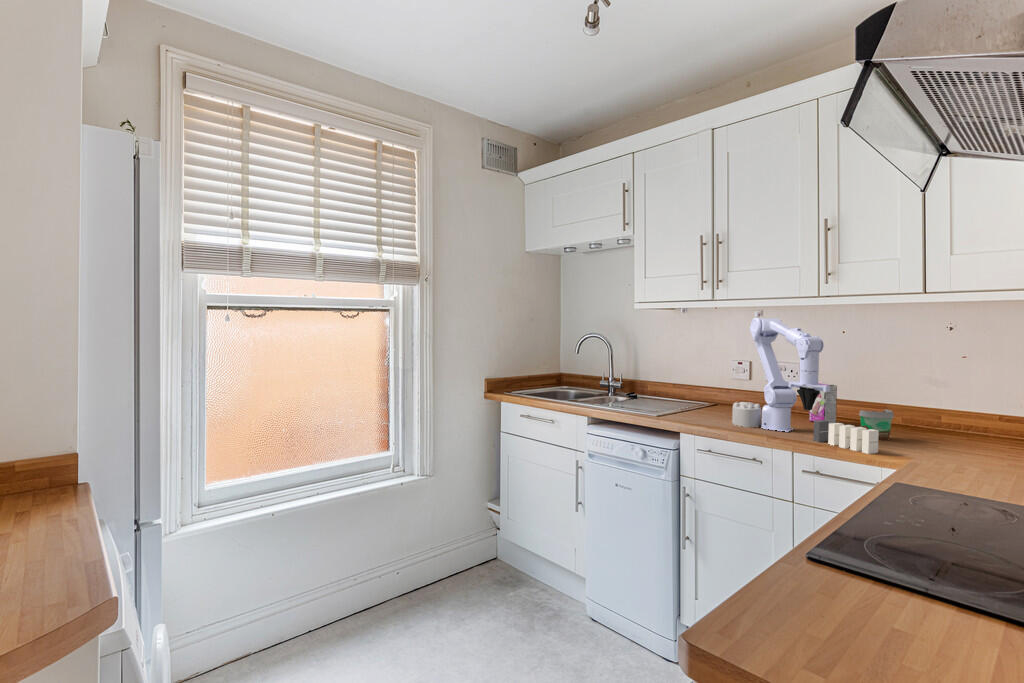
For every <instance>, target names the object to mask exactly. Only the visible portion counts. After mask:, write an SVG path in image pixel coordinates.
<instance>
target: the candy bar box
mask: <svg viewBox="0 0 1024 683" xmlns="http://www.w3.org/2000/svg"><path fill="white" fill-rule="evenodd" d="M818 384H821V385H827V386H830V392H824V391H820V394H819V395H818V396H817V398H816V400H815V402H814V405H813V408H812V410H808V413H809V414H808V421H809V422H812V421H813V423H814V421H817V420H826V421H829V424H830V423H837V401H838V397H837V396H838V392H837V391H838V385H836V384H831V383H826V382H824V381H823V382H821V381H818ZM809 388H812V387H809ZM818 391H819V390H818Z"/></svg>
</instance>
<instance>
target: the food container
mask: <svg viewBox="0 0 1024 683" xmlns="http://www.w3.org/2000/svg"><path fill="white" fill-rule="evenodd" d="M858 416H859V417H860V427H863V428H867V430H868V429H874V430H879V434H878V440H887V441H889V440H890V435H891V429H892V428H891V427H892V420H893V419H894V418H895V415H894V412H893V410H891V409H887V408H884V411H877V410H871V411H870V410H863V409H860V411H859V414H858ZM888 439H889V440H888Z"/></svg>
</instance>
